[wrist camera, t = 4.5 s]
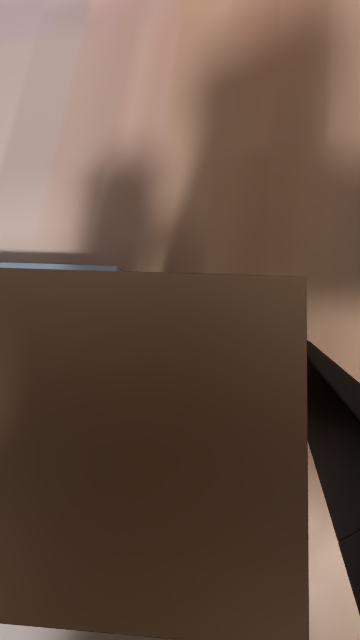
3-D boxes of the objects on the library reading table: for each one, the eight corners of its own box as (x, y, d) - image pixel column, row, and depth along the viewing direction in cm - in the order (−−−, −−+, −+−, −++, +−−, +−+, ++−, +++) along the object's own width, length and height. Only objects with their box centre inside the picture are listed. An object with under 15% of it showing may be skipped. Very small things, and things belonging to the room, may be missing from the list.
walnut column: (211, 402, 16) (308, 651, 3) (141, 398, 16) (-59, 617, 3) (213, 331, 16) (305, 276, 3) (145, 328, 16) (-17, 266, 4)
